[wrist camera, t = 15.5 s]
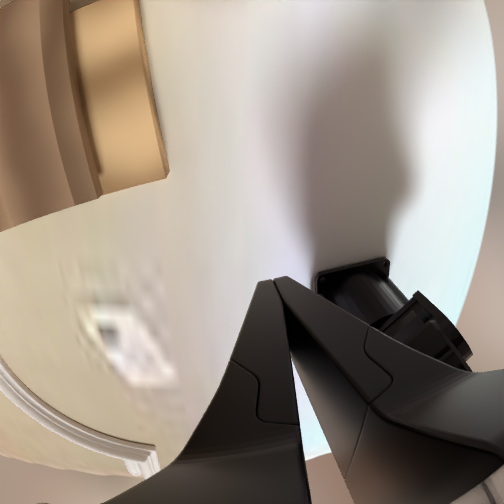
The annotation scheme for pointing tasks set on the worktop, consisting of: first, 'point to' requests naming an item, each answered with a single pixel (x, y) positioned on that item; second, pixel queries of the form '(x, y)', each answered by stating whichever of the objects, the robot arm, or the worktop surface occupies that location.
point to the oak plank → (117, 94)
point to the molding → (78, 428)
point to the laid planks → (41, 115)
